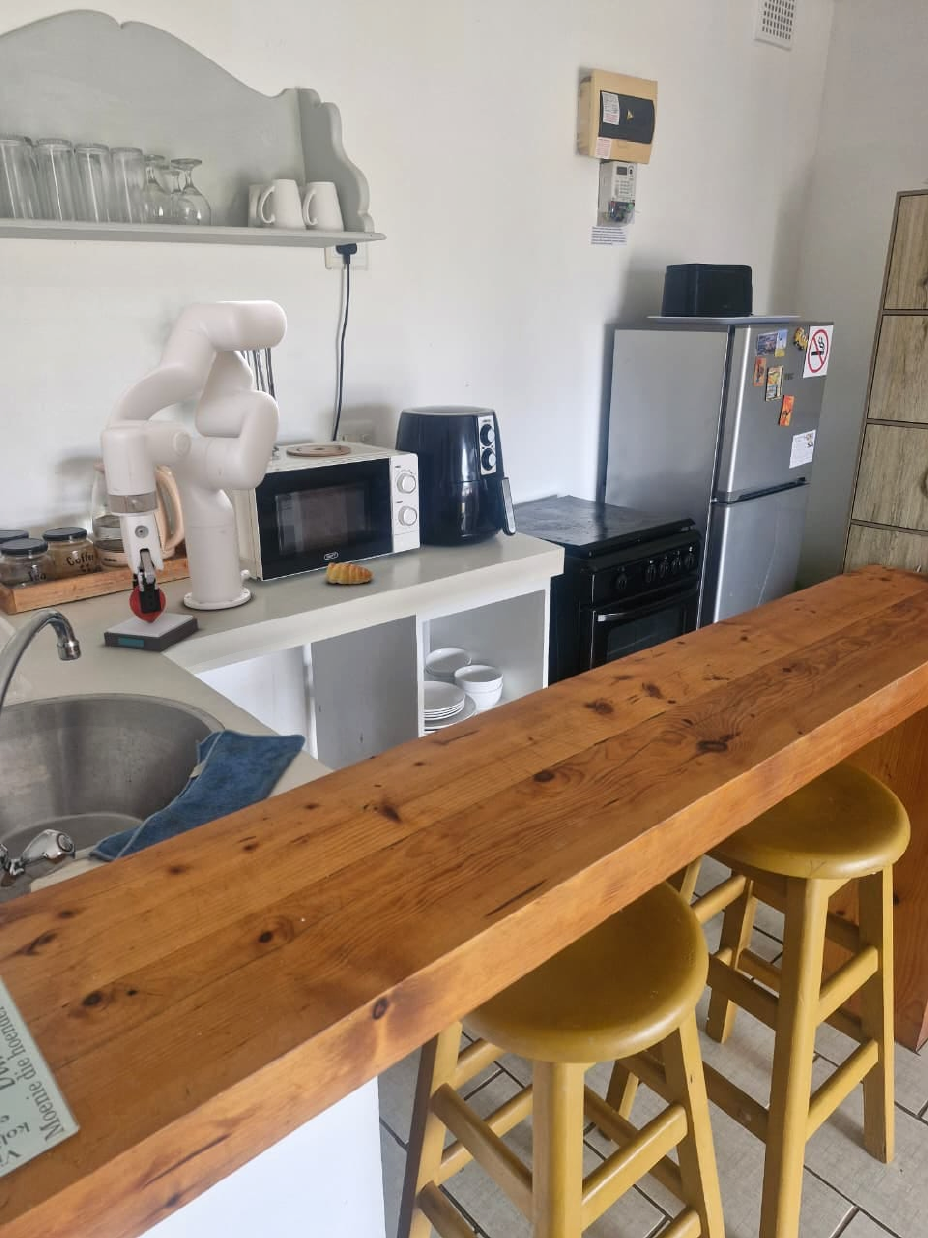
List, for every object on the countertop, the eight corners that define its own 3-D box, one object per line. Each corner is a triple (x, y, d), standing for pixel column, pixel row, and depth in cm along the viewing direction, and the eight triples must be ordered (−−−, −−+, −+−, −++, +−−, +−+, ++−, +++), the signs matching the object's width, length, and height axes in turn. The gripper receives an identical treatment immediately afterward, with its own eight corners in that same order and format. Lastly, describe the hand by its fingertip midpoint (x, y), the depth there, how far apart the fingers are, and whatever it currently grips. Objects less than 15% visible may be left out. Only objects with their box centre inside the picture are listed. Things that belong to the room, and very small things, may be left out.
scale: (145, 624, 157) (143, 610, 156) (198, 629, 154) (196, 614, 153) (104, 646, 147) (101, 630, 146) (160, 652, 144) (157, 636, 143)
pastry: (375, 577, 184) (374, 559, 183) (368, 586, 178) (367, 568, 177) (331, 576, 186) (330, 558, 184) (323, 585, 179) (322, 567, 178)
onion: (156, 628, 146) (150, 583, 144) (126, 627, 148) (119, 582, 145) (174, 617, 152) (168, 573, 149) (144, 616, 153) (138, 572, 150)
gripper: (167, 509, 137) (180, 617, 143) (148, 492, 152) (161, 591, 158) (117, 514, 134) (133, 625, 140) (103, 496, 148) (118, 597, 154)
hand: (148, 606), depth 149 cm, fingers closed on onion, 5 cm apart
